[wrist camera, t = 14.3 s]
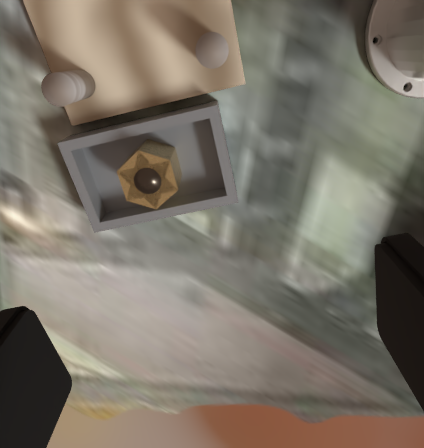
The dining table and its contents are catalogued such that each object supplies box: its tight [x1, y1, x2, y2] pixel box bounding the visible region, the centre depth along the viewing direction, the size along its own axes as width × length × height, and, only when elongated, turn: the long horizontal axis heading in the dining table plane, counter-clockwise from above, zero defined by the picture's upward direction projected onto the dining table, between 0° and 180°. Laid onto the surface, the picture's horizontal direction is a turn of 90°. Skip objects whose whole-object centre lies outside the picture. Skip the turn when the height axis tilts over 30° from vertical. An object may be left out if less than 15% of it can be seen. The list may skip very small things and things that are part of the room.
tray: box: [57, 101, 238, 232], centre depth 37 cm, size 16×10×4 cm, turn 103°
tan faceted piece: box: [117, 139, 182, 209], centre depth 36 cm, size 5×6×5 cm
